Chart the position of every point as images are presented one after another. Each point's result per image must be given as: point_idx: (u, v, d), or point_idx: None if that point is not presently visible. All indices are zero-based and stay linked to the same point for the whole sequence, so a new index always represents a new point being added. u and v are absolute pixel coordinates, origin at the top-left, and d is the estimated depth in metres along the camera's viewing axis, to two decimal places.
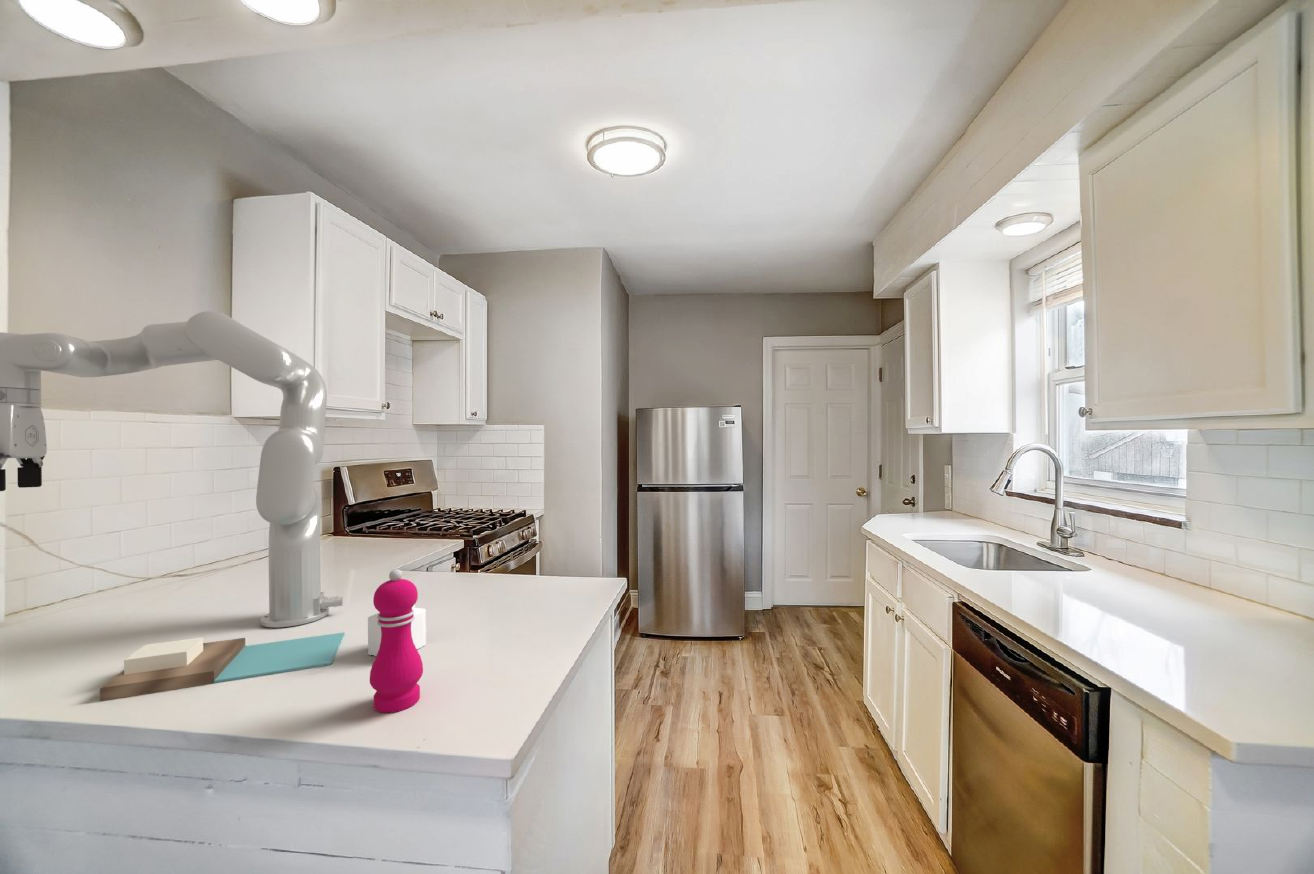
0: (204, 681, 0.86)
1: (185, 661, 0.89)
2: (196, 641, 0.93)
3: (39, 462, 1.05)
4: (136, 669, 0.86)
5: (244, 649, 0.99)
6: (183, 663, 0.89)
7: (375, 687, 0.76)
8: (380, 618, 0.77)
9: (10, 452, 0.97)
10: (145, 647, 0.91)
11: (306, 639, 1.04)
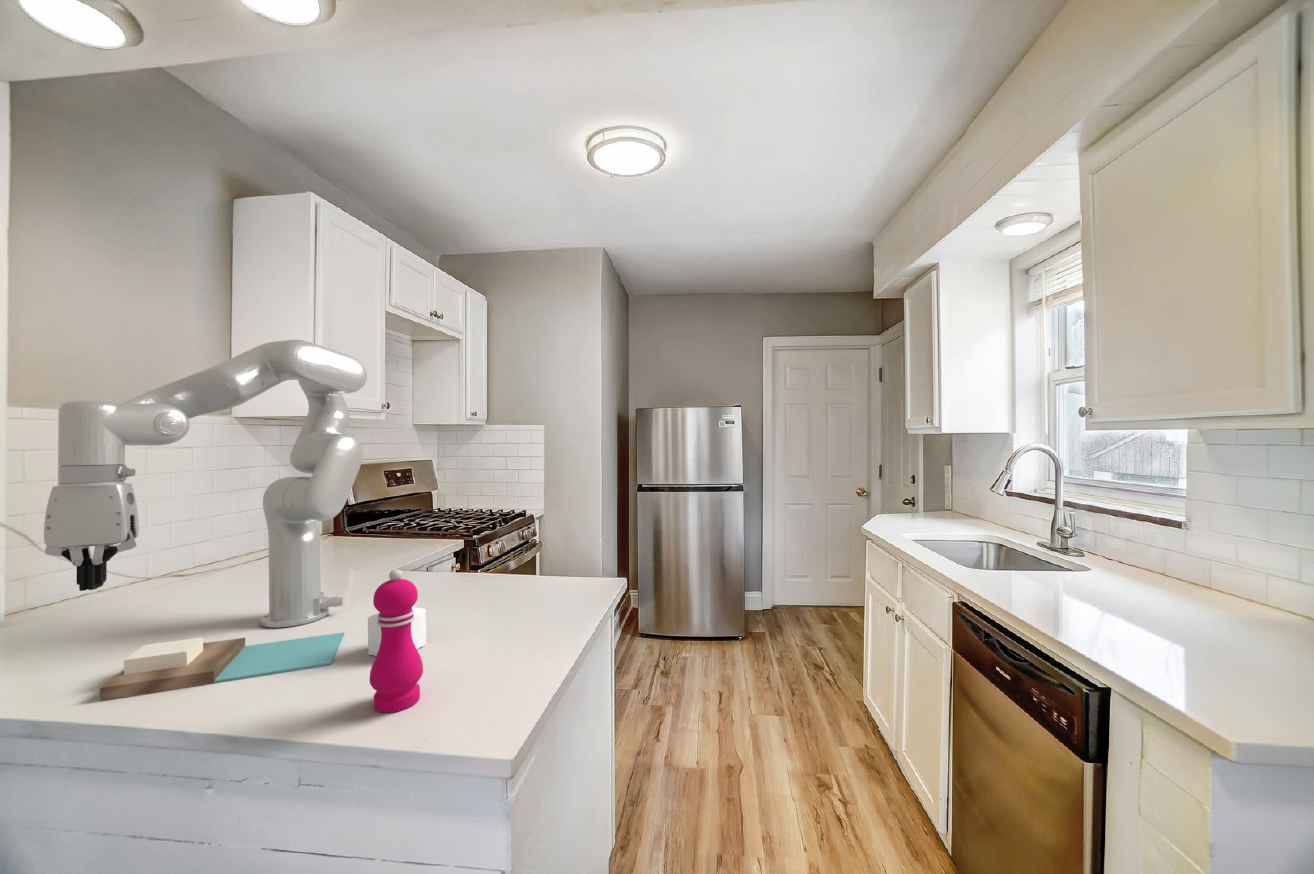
0: (204, 681, 0.86)
1: (185, 661, 0.89)
2: (196, 641, 0.93)
3: None
4: (136, 669, 0.86)
5: (244, 649, 0.99)
6: (183, 663, 0.89)
7: (375, 687, 0.76)
8: (380, 618, 0.77)
9: None
10: (145, 647, 0.91)
11: (306, 639, 1.04)
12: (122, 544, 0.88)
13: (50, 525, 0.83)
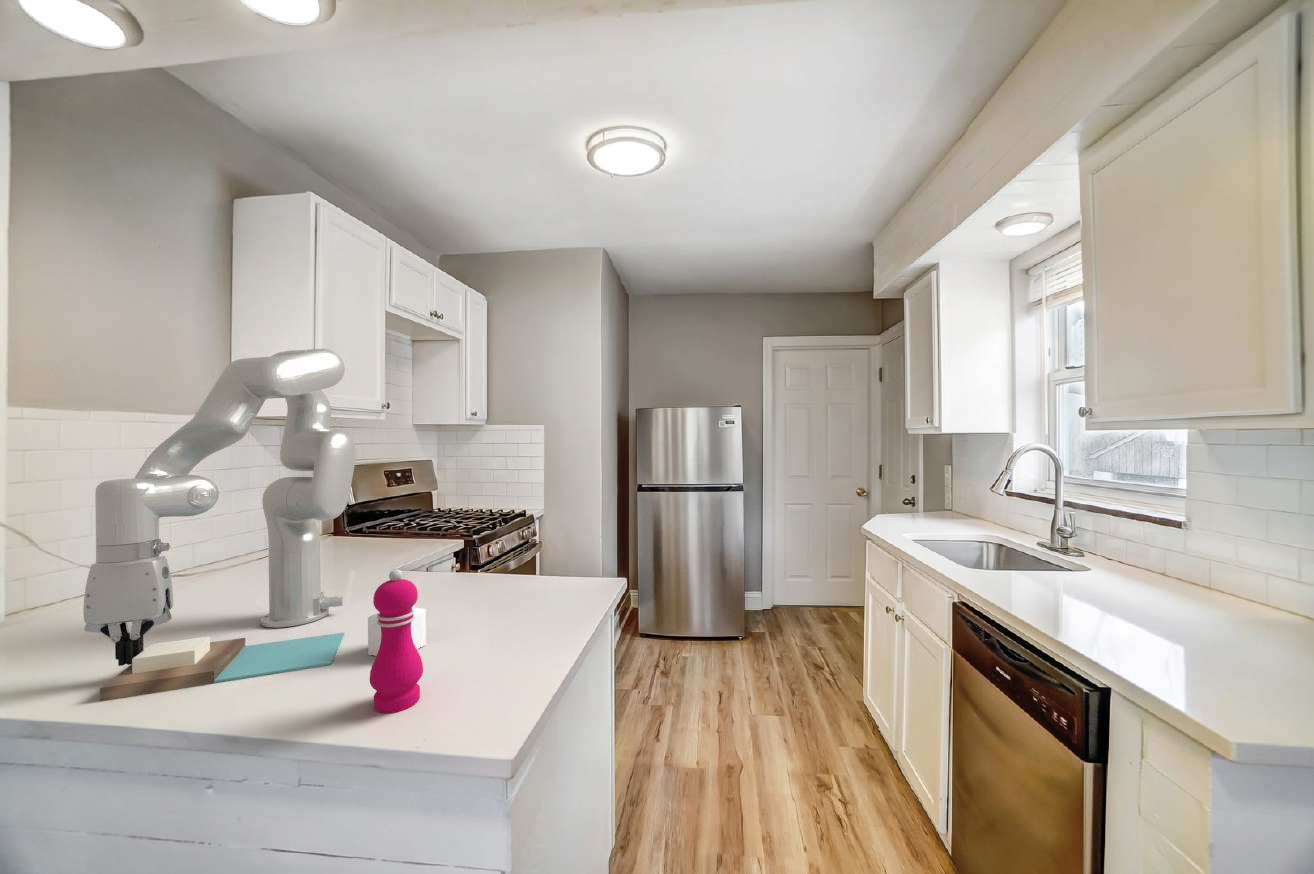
0: (204, 681, 0.86)
1: (193, 660, 0.89)
2: (203, 640, 0.94)
3: None
4: (144, 668, 0.87)
5: (244, 649, 0.99)
6: (191, 662, 0.89)
7: (375, 687, 0.76)
8: (380, 618, 0.77)
9: None
10: (152, 646, 0.91)
11: (306, 639, 1.04)
12: (158, 618, 0.90)
13: (89, 604, 0.85)
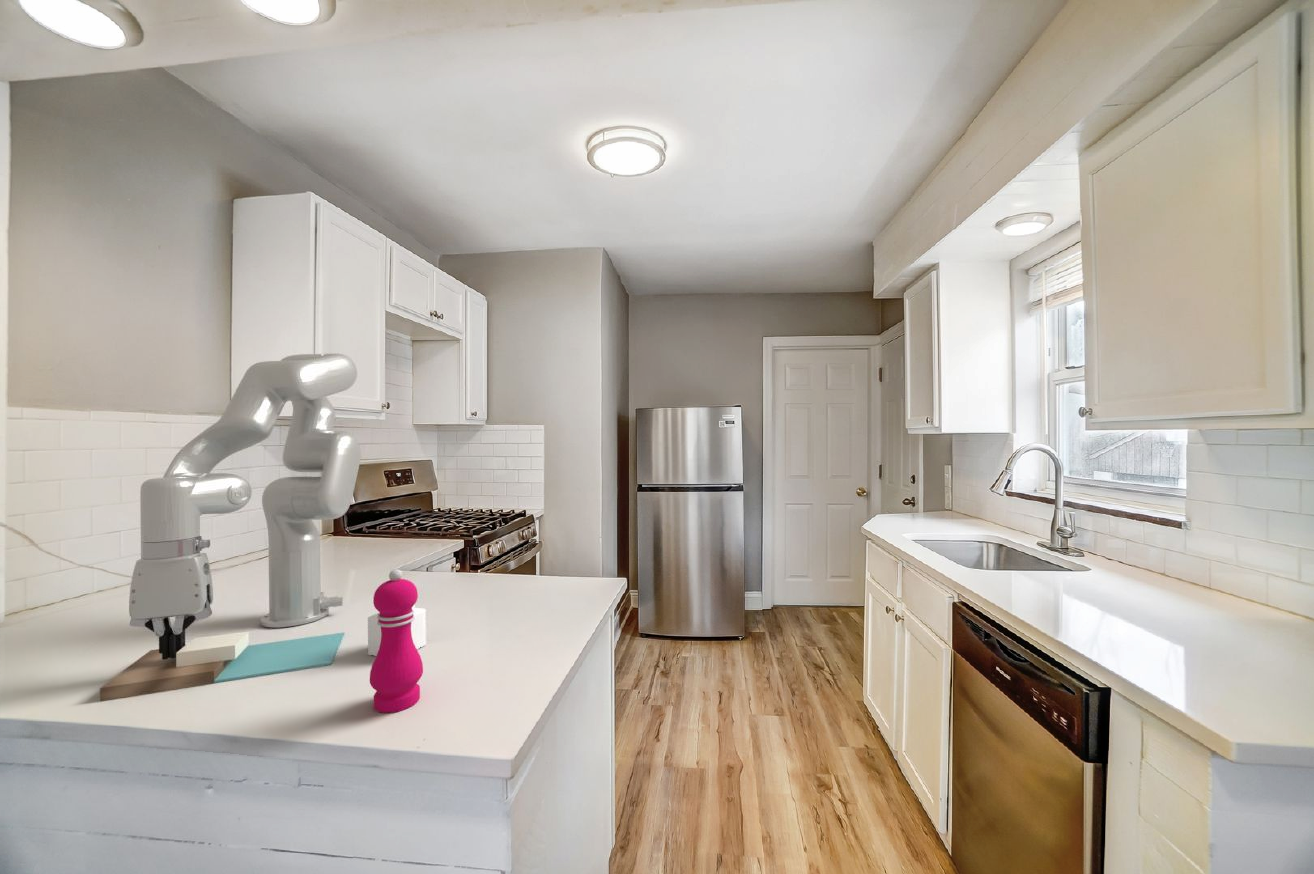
0: (204, 681, 0.86)
1: (233, 654, 0.91)
2: (242, 635, 0.96)
3: None
4: (187, 662, 0.89)
5: (244, 649, 0.99)
6: (232, 656, 0.91)
7: (375, 687, 0.76)
8: (380, 618, 0.77)
9: None
10: (194, 641, 0.93)
11: (306, 639, 1.04)
12: (200, 613, 0.92)
13: (135, 599, 0.87)
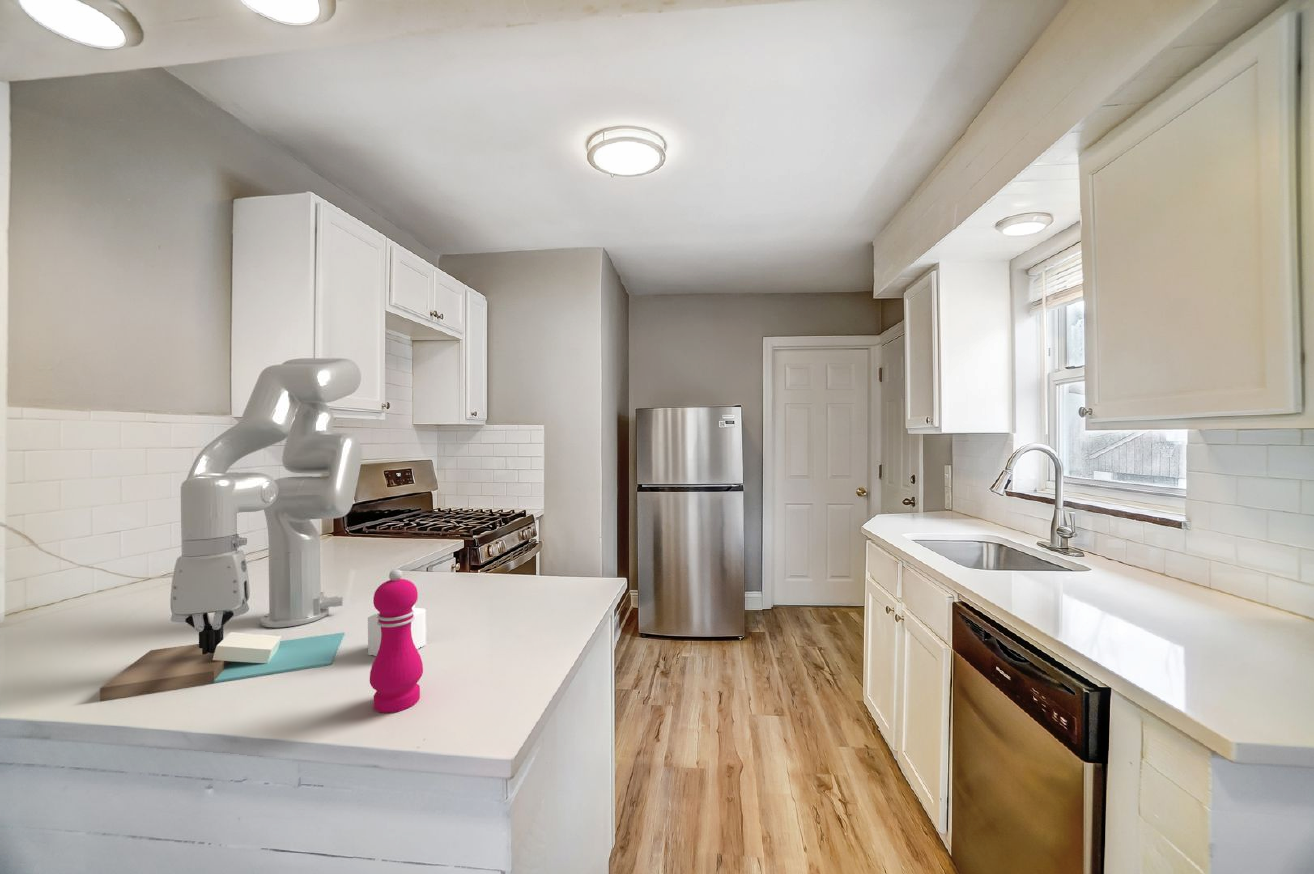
0: (204, 681, 0.86)
1: (267, 659, 0.93)
2: (276, 639, 0.98)
3: None
4: (224, 657, 0.91)
5: None
6: (265, 660, 0.93)
7: (375, 687, 0.76)
8: (380, 618, 0.77)
9: None
10: (231, 635, 0.95)
11: (306, 639, 1.04)
12: (237, 609, 0.94)
13: (176, 595, 0.89)
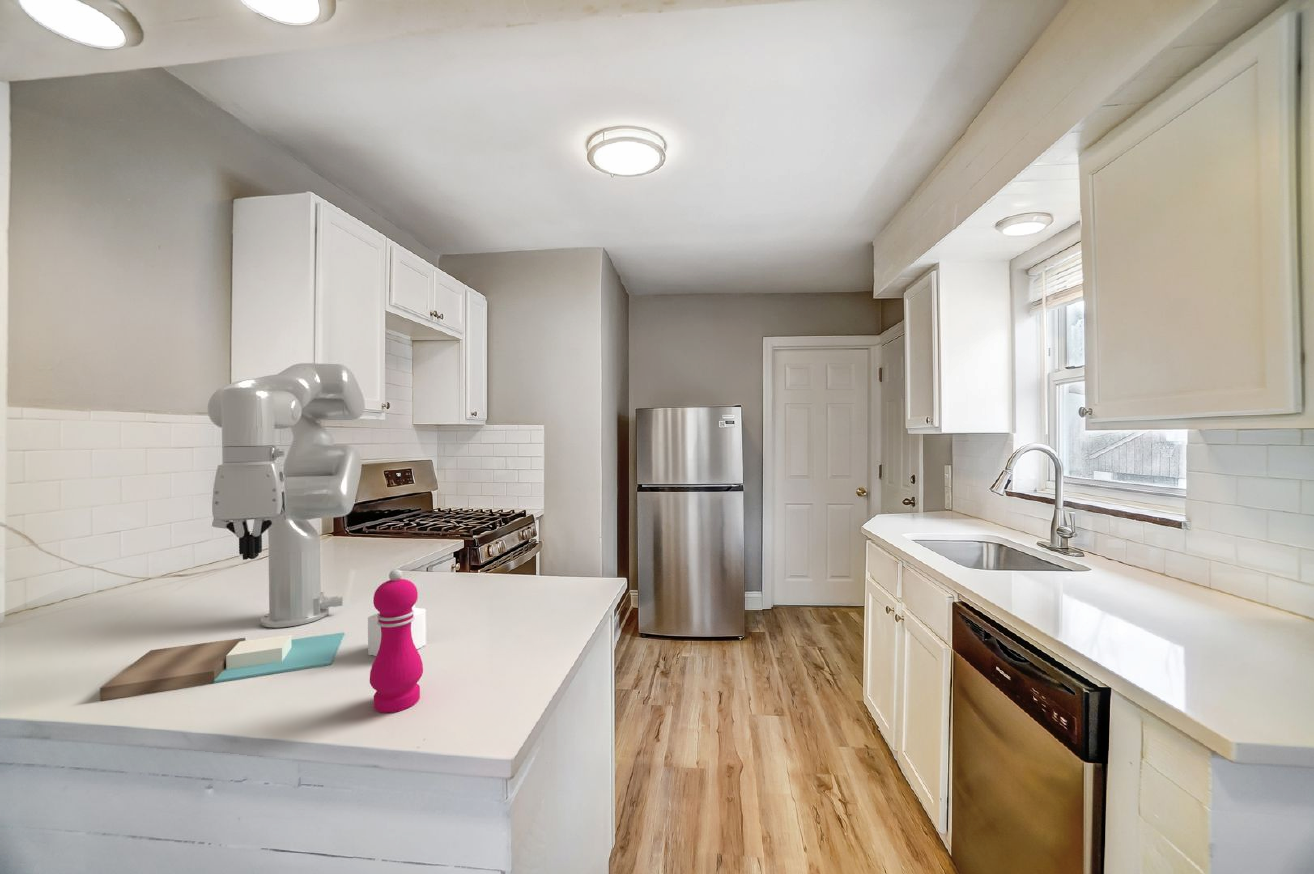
0: (204, 681, 0.86)
1: (280, 657, 0.94)
2: (286, 638, 0.98)
3: None
4: (237, 664, 0.91)
5: None
6: (279, 659, 0.94)
7: (375, 687, 0.76)
8: (380, 618, 0.77)
9: None
10: (241, 644, 0.96)
11: (306, 639, 1.04)
12: (276, 518, 0.96)
13: (218, 500, 0.92)
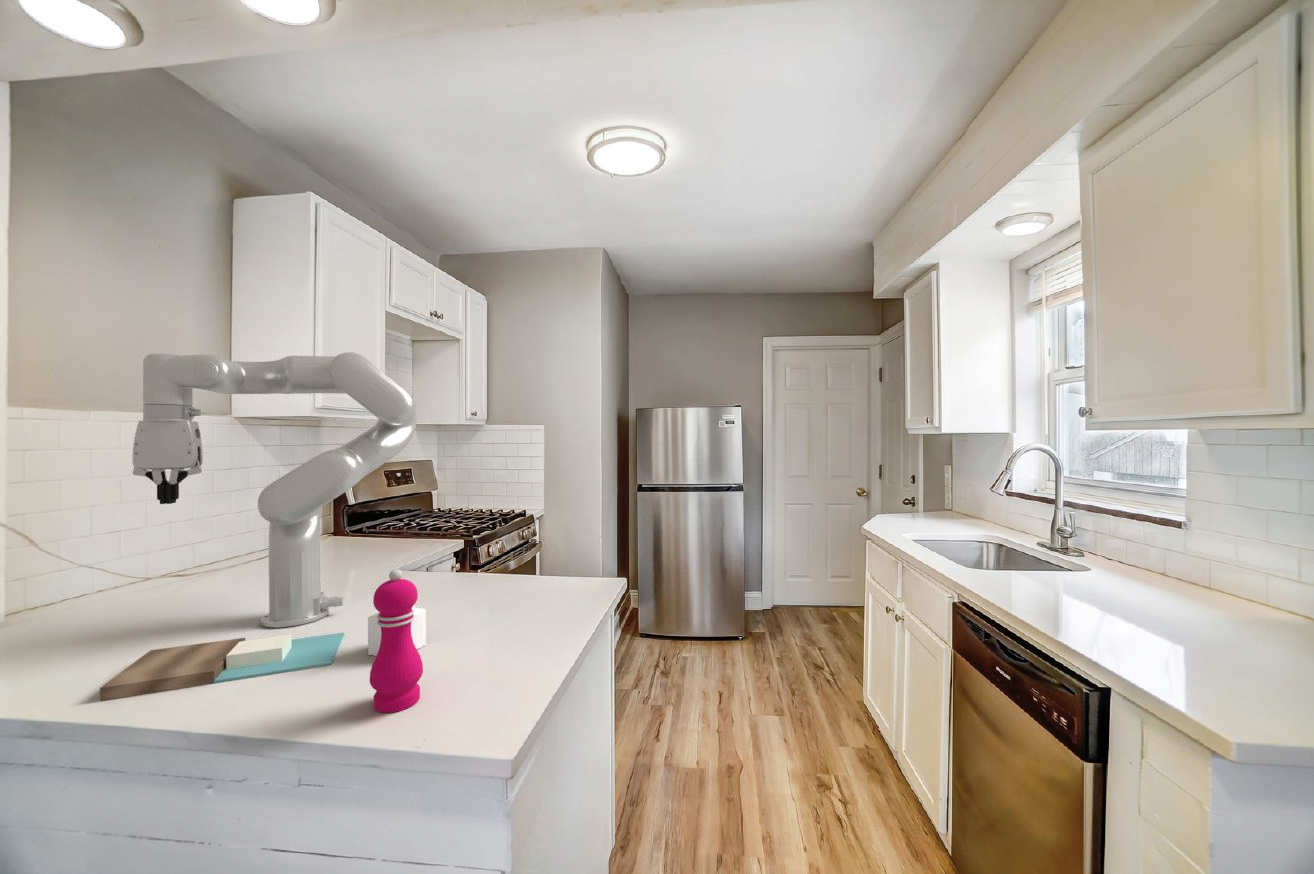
0: (204, 681, 0.86)
1: (280, 657, 0.94)
2: (286, 638, 0.98)
3: None
4: (237, 664, 0.91)
5: None
6: (279, 659, 0.94)
7: (375, 687, 0.76)
8: (380, 618, 0.77)
9: None
10: (241, 644, 0.96)
11: (306, 639, 1.04)
12: (191, 469, 1.10)
13: (137, 451, 1.05)
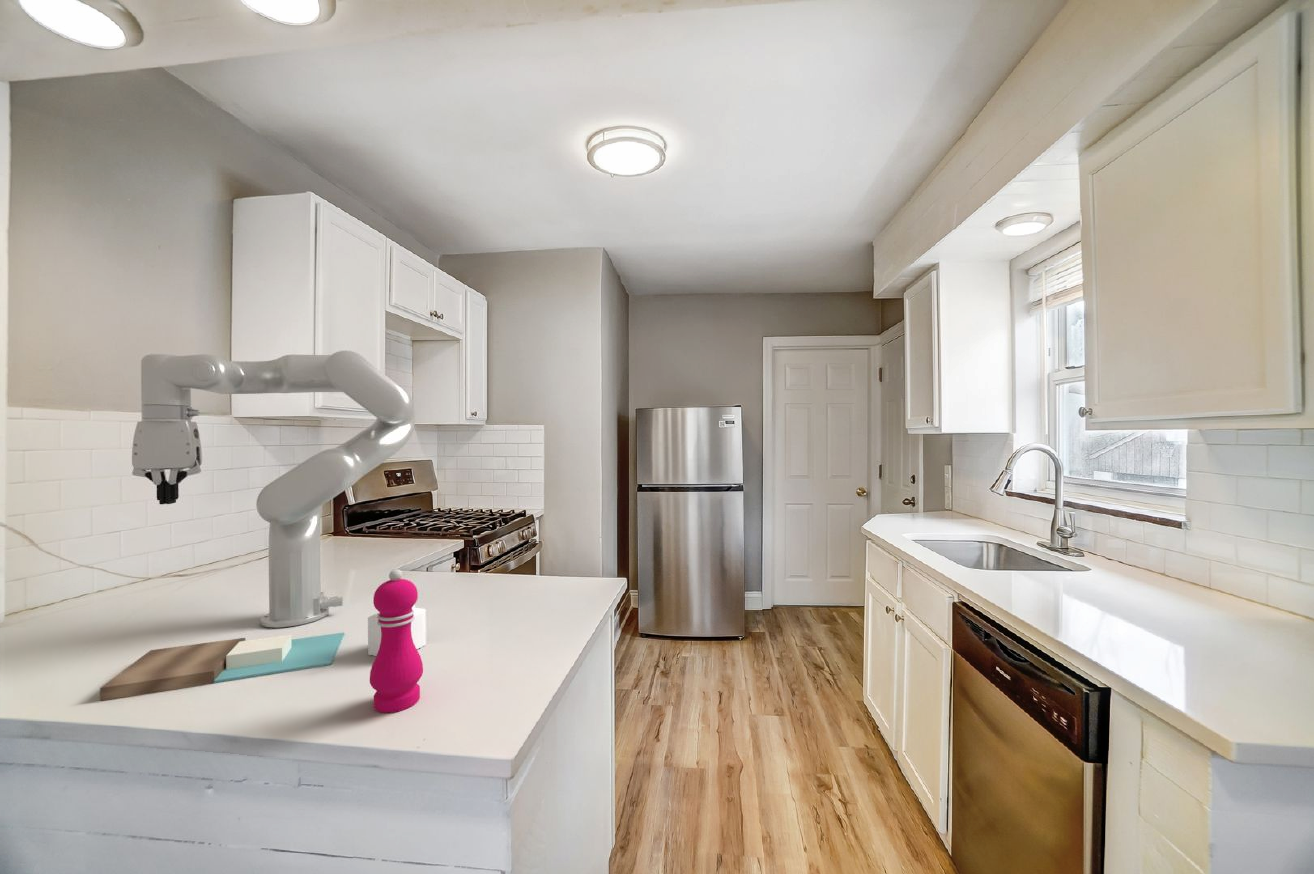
0: (204, 681, 0.86)
1: (280, 657, 0.94)
2: (286, 638, 0.98)
3: None
4: (237, 664, 0.91)
5: None
6: (279, 659, 0.94)
7: (375, 687, 0.76)
8: (380, 618, 0.77)
9: None
10: (241, 644, 0.96)
11: (306, 639, 1.04)
12: (190, 469, 1.10)
13: (137, 451, 1.06)
